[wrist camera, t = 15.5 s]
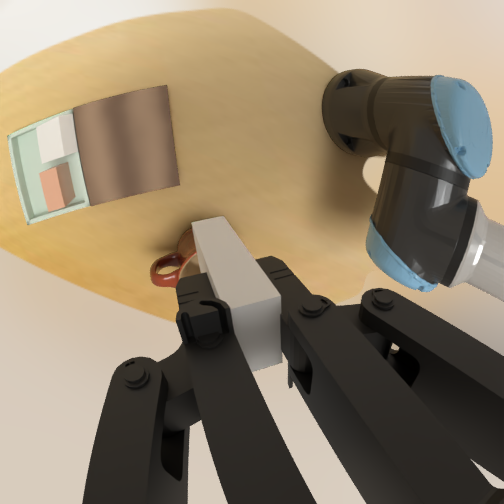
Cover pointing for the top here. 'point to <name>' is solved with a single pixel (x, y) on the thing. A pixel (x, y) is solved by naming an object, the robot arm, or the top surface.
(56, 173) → the tile terracotta
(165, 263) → the mug
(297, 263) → the top surface
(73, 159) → the tray
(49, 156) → the tile white
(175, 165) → the board
